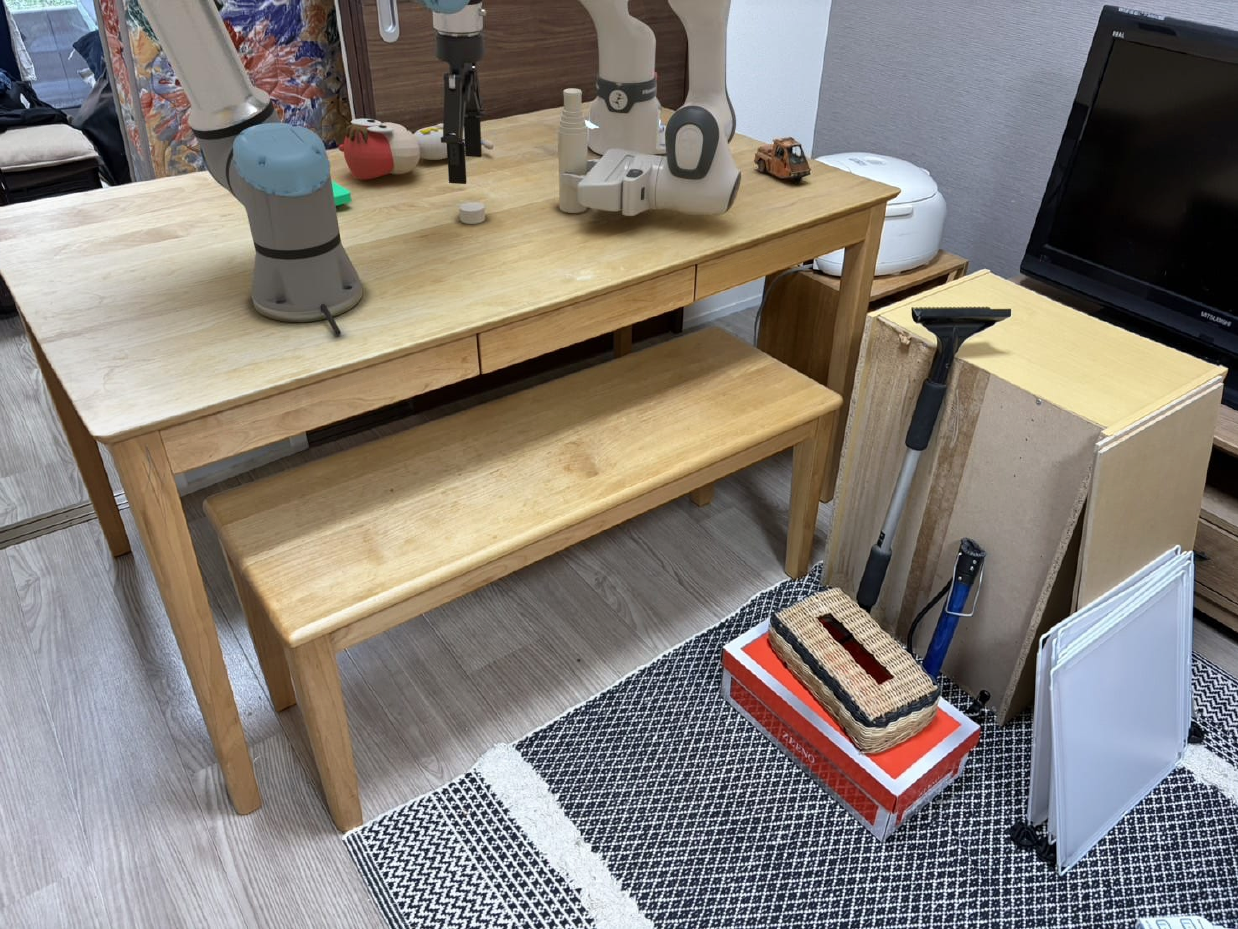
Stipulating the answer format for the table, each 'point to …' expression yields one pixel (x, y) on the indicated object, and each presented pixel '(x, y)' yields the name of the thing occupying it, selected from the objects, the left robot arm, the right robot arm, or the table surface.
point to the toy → (391, 147)
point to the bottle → (572, 148)
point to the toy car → (782, 160)
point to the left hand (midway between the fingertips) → (466, 169)
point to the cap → (472, 212)
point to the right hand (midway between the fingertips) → (568, 171)
